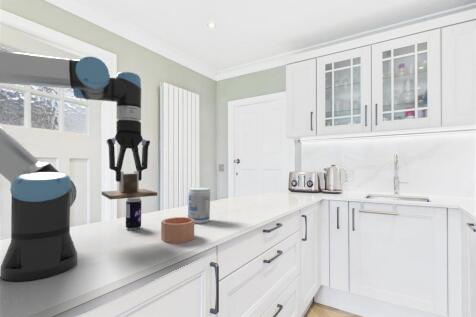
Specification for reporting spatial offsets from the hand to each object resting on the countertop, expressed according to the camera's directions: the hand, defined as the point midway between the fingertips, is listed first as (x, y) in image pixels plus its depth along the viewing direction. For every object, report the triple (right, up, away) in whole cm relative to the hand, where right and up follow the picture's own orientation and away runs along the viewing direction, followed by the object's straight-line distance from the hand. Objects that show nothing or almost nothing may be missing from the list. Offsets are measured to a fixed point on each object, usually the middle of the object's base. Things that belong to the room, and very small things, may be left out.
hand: (128, 190), depth 86 cm
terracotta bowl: (+15, -17, +4) cm, 23 cm away
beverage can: (-5, -17, +16) cm, 24 cm away
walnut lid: (0, -1, 0) cm, 1 cm away
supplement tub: (+19, -17, +30) cm, 39 cm away
